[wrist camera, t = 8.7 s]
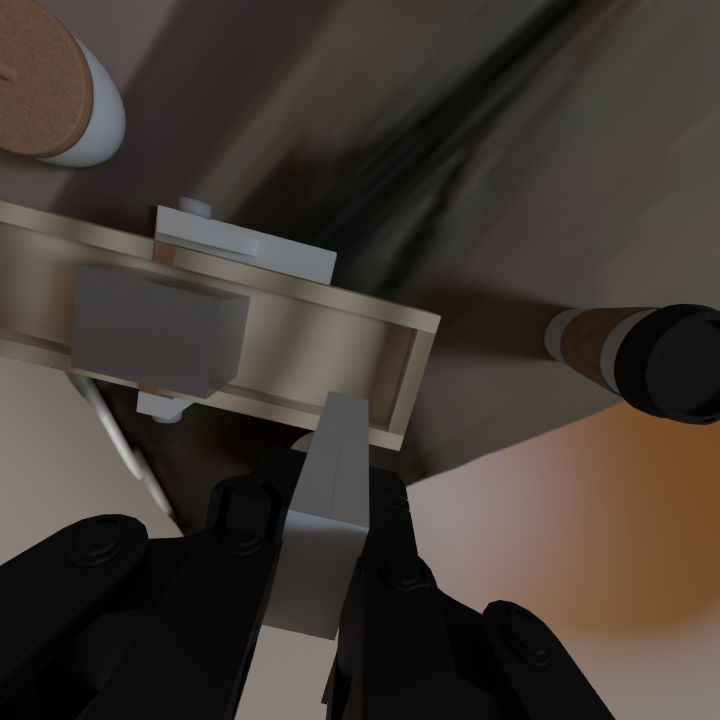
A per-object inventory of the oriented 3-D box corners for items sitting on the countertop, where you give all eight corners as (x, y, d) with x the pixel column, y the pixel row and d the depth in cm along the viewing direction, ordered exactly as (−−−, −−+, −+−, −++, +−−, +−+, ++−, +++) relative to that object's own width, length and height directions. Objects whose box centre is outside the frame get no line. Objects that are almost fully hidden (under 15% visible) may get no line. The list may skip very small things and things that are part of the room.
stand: (149, 357, 38) (28, 398, 24) (167, 206, 34) (36, 155, 21) (304, 395, 39) (270, 456, 25) (337, 251, 35) (319, 231, 21)
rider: (128, 350, 24) (70, 366, 19) (136, 267, 23) (76, 263, 18) (236, 376, 25) (206, 399, 20) (251, 296, 23) (221, 300, 19)
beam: (-52, 320, 26) (-125, 327, 22) (-55, 184, 24) (-137, 164, 20) (394, 428, 28) (399, 452, 24) (429, 311, 26) (441, 316, 22)
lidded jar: (99, 33, 31) (-11, -71, 22) (170, 144, 33) (96, 91, 24) (15, 101, 32) (-122, 30, 23) (88, 204, 34) (-12, 175, 25)
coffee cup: (537, 380, 38) (646, 441, 23) (527, 307, 36) (638, 324, 21) (613, 363, 37) (773, 414, 23) (606, 288, 35) (776, 291, 21)
